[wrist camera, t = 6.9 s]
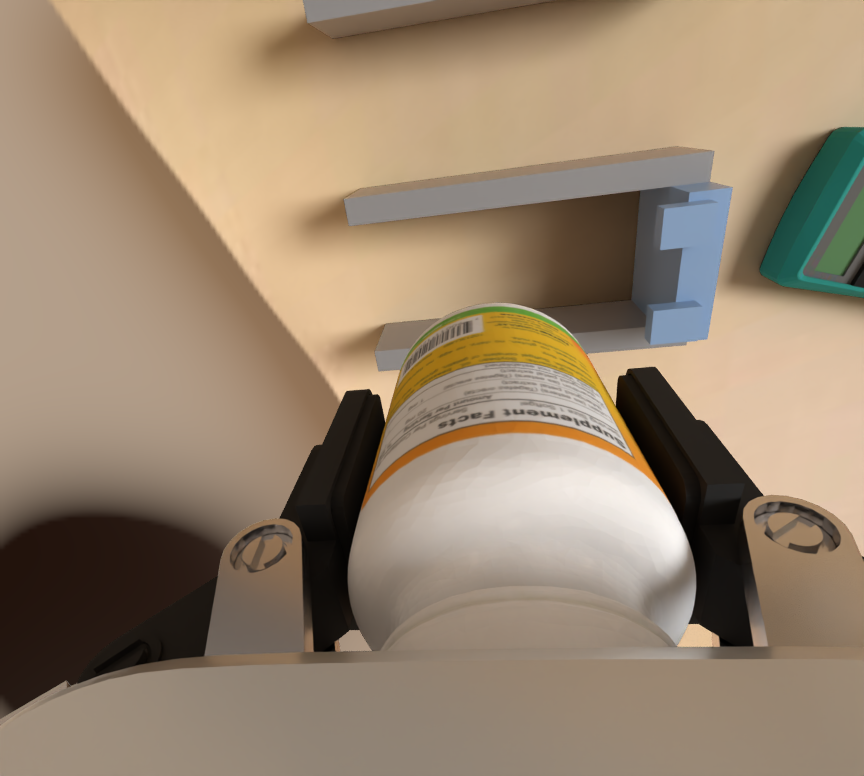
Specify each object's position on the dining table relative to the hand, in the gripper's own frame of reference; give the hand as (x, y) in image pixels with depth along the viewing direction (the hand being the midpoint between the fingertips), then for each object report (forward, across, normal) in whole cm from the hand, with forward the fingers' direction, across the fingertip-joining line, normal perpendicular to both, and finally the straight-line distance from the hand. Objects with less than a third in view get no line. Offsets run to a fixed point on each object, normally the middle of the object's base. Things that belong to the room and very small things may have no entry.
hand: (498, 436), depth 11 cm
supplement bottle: (+3, 0, 0) cm, 3 cm away
